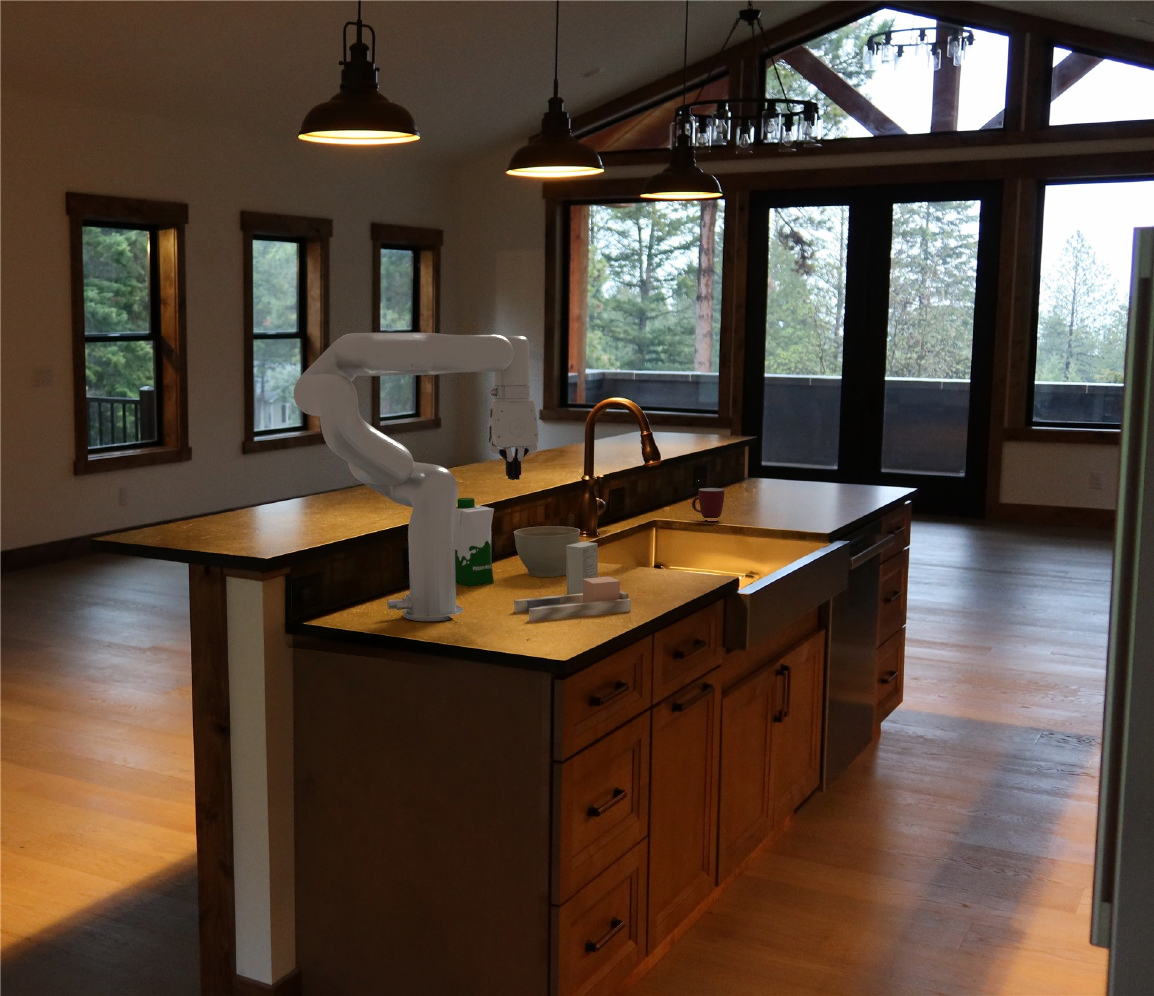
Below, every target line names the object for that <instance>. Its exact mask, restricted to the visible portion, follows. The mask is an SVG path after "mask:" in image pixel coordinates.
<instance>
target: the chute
mask: <svg viewBox="0 0 1154 996" xmlns="http://www.w3.org/2000/svg"><path fill="white" fill-rule="evenodd" d="M513 606H514V607H513V611H514V613H517V614H518V613H526V612H527V613H528V616H529V617H528V620H529V622H540V621H541V622H542V621H549V620H550V621H551V620H558V619H567V618H568V619H569V618H579V617H580V618H581V617H586V616H587V617H588V616H599V615H607V614H616V613H617V614H618V613H625V612H632V599H631V598H629V593H628V592H625V591H623V590H621V589H620V599H618V600H608V601H598V602H588V603H583V593H581V594H571V595H569V594H563V595H554V596H552V595H551V596H543V597H542V596H541V597H540V596H539V597H533V598H523V599H522V598H521V599H520V598H519V599H514V600H513Z"/></svg>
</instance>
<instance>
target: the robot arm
mask: <svg viewBox="0 0 1154 996" xmlns="http://www.w3.org/2000/svg"><path fill="white" fill-rule="evenodd" d="M484 372H485V373H487V372H488V373H493V374H494V376H493V377H494V382H493V384H494V385H493V388H490V389H488V390H487V393H488V396H491V397H493V399H494V400H492V401H491V404H490V410H489V417H488V444H489V447H488V452H489V453H492V454H498V455H499V456H500V457H501V458H502V459H503V460H504V461H505V476H506V477H507V479H508V480H510V481H515V480H516V481H519V480H520V479H521V478H520V477H521V475H522V461H523V460H524V458H525V457H526V456H527V455H528V454H529V453H533V452H536V451H538V443H539V425H538V424H539V423H538V418H537V417H538V416H537V411H536V405H535V401H534V400H533V399H530V395H531V391H530V389H531V387H530V386H531V385H530V383H531V382H530V381H531V380H530V341H529V339H528V338H527V337H526V336H523V335H500V334H445V333H437V332H435V333H434V332H353V333H351V332H350V333H347V334H344V335H342V336H340V337H339V338H338V339H336V340H335V341H334V342H333V343H332V344H331V345H330V346H328V347H327V348H326V349H325V350H324V352H323V353H322V354H321V355H320V356H319V357H318V358H317V359H316V360H315V361H314V362H313V363H312V364H311V365H310V366H309V367H308V368H307V369H306V370H305V371H304V372H303V373H302V374H301V375H300V377H298V379H297V381H296V382H295V385H294V388H293V400H294V402H295V405H296V406H297V408H298V409H299V410H300V411H302V412H303V413H304V414H306V415H310V416H312V417H313V416H314V417H319V422H320V428H321V433H322V436H323V439H324V442H325V443H326V445H327V446H328V447H329V449H330V450H331V451H332V452H333V453H334V454H335V455H337V456H338V457H340V458H341V459H343V460H345V462H347V464H348V465H347V466H348V469H349V470H350V473H351V474H352V476H353V477H354V478H356V479H357V480H358V481H359V482H361V483H362V484H364V485H365V486H367V487H369V488H371V489H372V490H374V491H375V492H377V493H379V495H380V494H381V495H382V496H384V497H385V498H388V499H389V500H391V501H393V502H395V503H397V504H398V505H401V506H405V507H409V508H412V510H411V515H410V517H409V522H408V527H407V528H408V531H407V534H408V535H407V539H408V541H407V542H408V562H409V563H408V569H409V574H408V575H409V593H406V594H405V597H404V596H403V597H402V598H401V599H390V600H389V599H388V600H387V602H386V605H387V606H386V607H387V609H388V610H397V611H400V610H401V611H402V610H403V611H402V616H403V618H404V619H406V620H409V621H410V620H411V621H414V622H415V621H416V622H443V621H444V622H445V621H451V620H454V618H453V617H451V616H455V615H459V614H462V613H463V612H464V611H465V608H463V607H462V606H460V605H457V584H456V575H455V536H454V522H455V510H456V507H457V499H458V494H459V489H458V488H459V487H458V483H457V480H456V478H455V476H454V475H453V473H452V472H451V471H450V470H449V469H447V468H446V467H443V466H442V465H437V464H432V463H425V462H417V461H414V457H413V455H412V453H411V452H410V450H408V449H407V447H406V446H405V445H403V444H402V443H400V442H399V441H397V440H394V439H393V438H391V437H389V436H388V435H386V434H384V433H383V432H381V431H379V429H376V428H375V427H374V426H372V425H370V424H369V423H368V422H366V421H365V420H364V419H363V417H362V416H361V413H360V410H359V409H360V407H359V397H358V393H357V389H356V387H355V385H354V383H353V381H354V379H356V377H357V376H361V377H362V376H366V377H382V376H385V377H386V376H387V377H388V376H389V377H391V376H427V375H431V376H432V375H433V376H436V375H443V374H452V373H455V374H456V373H484ZM512 448H514V453H513V452H512Z"/></svg>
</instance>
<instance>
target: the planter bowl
mask: <svg viewBox="0 0 1154 996" xmlns="http://www.w3.org/2000/svg"><path fill="white" fill-rule="evenodd" d="M580 534H581V529H579V528H575V527H572V526H571V527H570V526H558V525H557V526H554V525H553V526H552V525H551V526H550V525H549V526H547V525H546V526H533V527H524V528H520V529H516V530H515V531H513V535H514V541H515V548H516V552H517V554H518V557H519V559H520V561H521V563H522V564H523V566H524V567H525V568H526V570H527V574H528V576H532V577H536V578H556V577H563V576H567V571H566V569H567V568H566V545H570V544H574V543H578V542H580Z"/></svg>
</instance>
